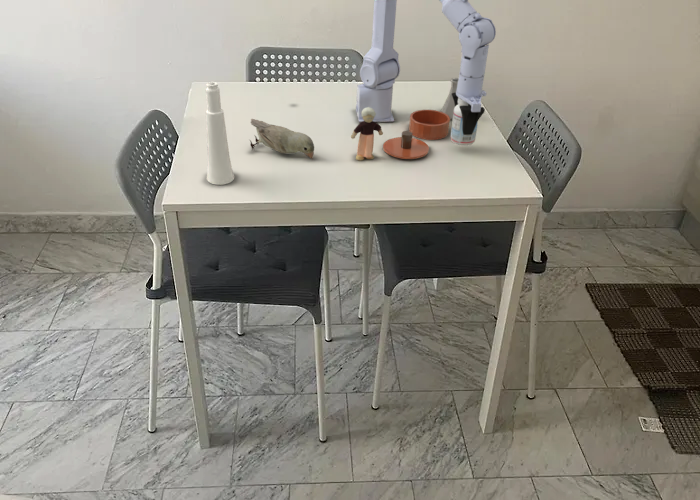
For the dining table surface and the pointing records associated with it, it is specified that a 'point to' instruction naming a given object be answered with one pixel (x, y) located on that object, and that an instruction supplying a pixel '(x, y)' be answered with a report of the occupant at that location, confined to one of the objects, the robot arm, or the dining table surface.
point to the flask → (450, 99)
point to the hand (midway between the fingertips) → (464, 128)
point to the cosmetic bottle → (217, 139)
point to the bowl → (429, 124)
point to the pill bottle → (457, 131)
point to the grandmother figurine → (366, 134)
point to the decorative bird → (282, 139)
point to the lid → (406, 147)
